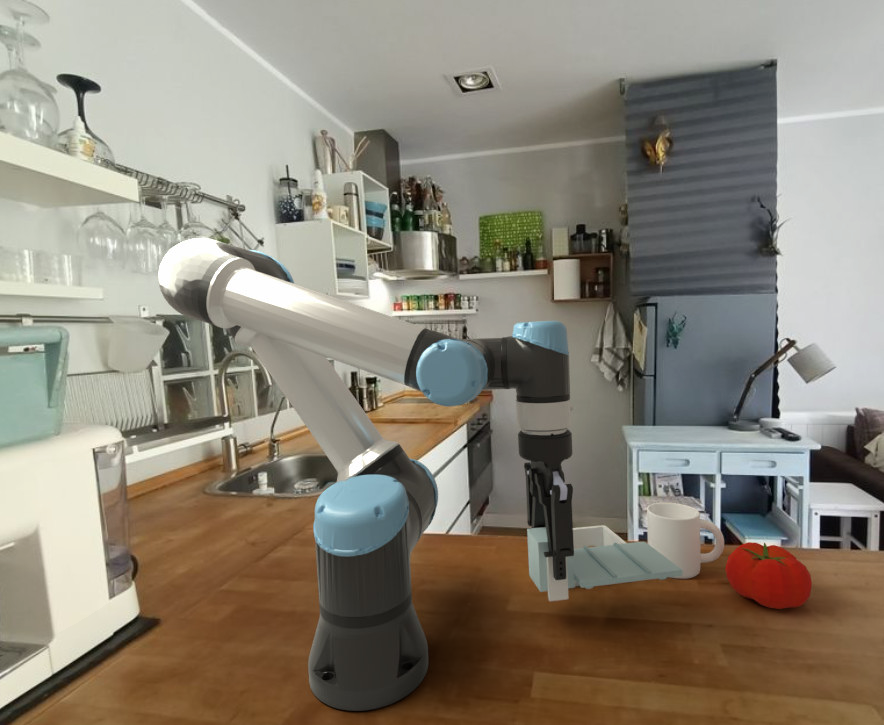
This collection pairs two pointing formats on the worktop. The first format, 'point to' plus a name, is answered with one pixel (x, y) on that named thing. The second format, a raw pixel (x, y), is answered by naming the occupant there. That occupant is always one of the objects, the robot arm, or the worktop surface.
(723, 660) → the worktop surface
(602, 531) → the tub
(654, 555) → the lid
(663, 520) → the mug
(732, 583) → the tomato
